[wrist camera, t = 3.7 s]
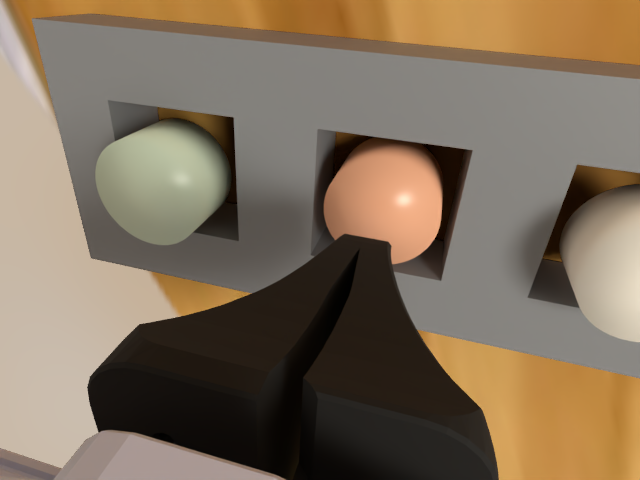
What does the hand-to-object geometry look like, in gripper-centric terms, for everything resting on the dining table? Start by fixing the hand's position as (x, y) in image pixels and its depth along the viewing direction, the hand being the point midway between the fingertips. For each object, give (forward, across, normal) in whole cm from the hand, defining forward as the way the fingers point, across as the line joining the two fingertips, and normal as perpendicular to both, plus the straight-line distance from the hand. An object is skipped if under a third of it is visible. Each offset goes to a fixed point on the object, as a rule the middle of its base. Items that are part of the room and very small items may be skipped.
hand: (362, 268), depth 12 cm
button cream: (+4, -8, 0) cm, 9 cm away
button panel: (+7, 0, 0) cm, 7 cm away
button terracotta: (+6, 0, 0) cm, 6 cm away
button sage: (+5, +8, 0) cm, 9 cm away
